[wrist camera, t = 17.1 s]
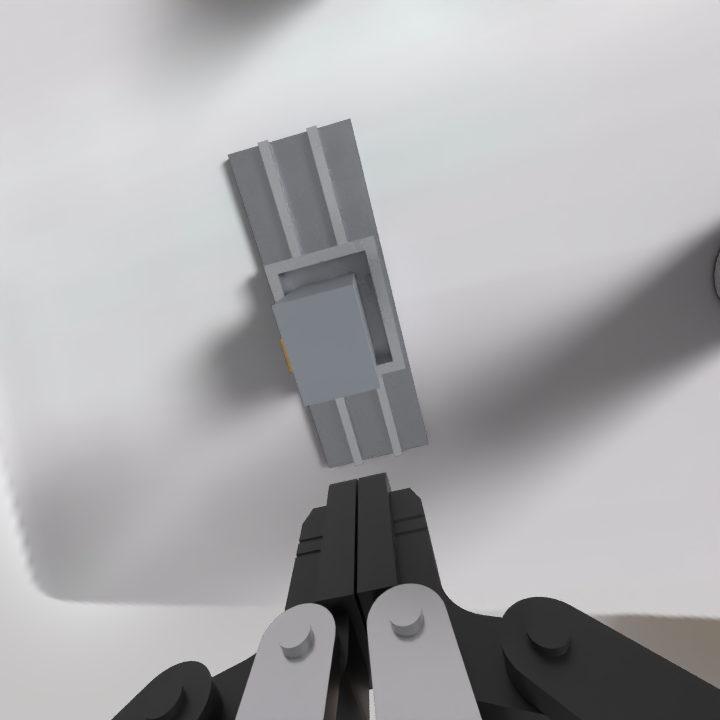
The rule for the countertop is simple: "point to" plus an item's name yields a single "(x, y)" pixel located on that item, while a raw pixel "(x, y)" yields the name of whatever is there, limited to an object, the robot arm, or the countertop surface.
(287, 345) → the module
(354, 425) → the rail
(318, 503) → the countertop surface
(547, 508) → the countertop surface
